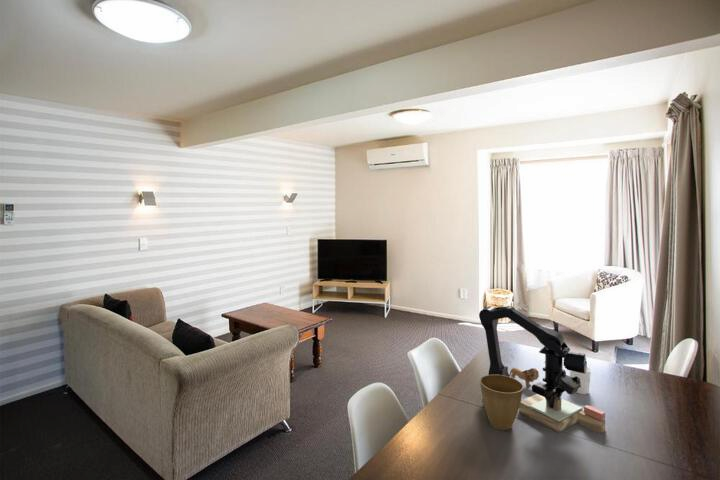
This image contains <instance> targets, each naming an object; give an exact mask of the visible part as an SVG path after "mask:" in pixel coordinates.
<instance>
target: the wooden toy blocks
mask: <svg viewBox="0 0 720 480" xmlns="http://www.w3.org/2000/svg"><path fill="white" fill-rule="evenodd" d="M543 399H545V397H543V396H541V395H539V394H536V393H535V394H533V395H530V396H528V397H526V398H524V399H521V402H520V406H519V410H518V412H519V413H520V414H522V415H524V416H526V417H527V418H529V419H532V420H533V421H535V422H538V423H539V424H541V425H543V426H545V427H547V428H549V429H552V430H554V431H555V432H557V433H561V432H562V431H564V430H566V429H568V428H570V427H572V426H573V425H576V424H581V425H582V426H584V427H587V428H589V429H591V430H593V431H595V432H597V433H600V434H603V433H604V432H605V431H606V418H605V419H604V420H602V421H601V420H599V419H596V418H594V417H592V416H590V415H587V414H585V413H584V409H582V410H580V411H579V412H577V413H575V414H573V415H571V416H569V417H567V418H565V419H563V420H562V421H560V422H559V421H557V420H554V419H552V418H550V417H548V416H546V415H544V414H542V413H540V412H538V411H536V410H534V409H532V408H530V405H532V404H534V403H537V402H539V401H541V400H543Z"/></svg>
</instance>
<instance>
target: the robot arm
mask: <svg viewBox="0 0 720 480" xmlns="http://www.w3.org/2000/svg"><path fill="white" fill-rule="evenodd" d="M478 313H479V314H478V317H479V321H480V324H481V326H482V327H483V329H484V331H485V338H486V344H487V351H488V358H489V369H488V375H504V376H509V374H510V373H509V371H508V370H509V367H508V366H505V365H504V364H503V362H502V355H501V349H500V343H499V342H500V341H499V335H498V334H499V333H498V323H499V320H500V319H504V318H507V319H509V320H511V321H512V322H514V323H515V324H516V325H518V326H519V327H521V328H523V329H524V330H526V331H527V332H529V333H530V334H531V335H533V336H534V337H535V338H537V340H538V342H540V344H541V345H542V346H543V347H542V348H541V349H540V350H539V351H538V352H539V354H542V355H543V354H544V356H545V357H544V358H545V359H544V363H545V364H544V367H542V372H543V371H544V373H545V374H544V377H543V378H542V382H536V383H535V384H532V385H531V392H532V393H535V394H539V395H541V396H543V397H545V399H546V401H547V403H548V405H549V407H550V408H553V406H554V399H555V396H557V397H559V398H561V399H562V395H563V393H566V394H568V395H570V396H571V395H574V394H575V393H576V392H577V390H578V388H580V387H581V385H580V378H579V377H577V376H575V377H571V376H570V375H567V372H566V370H567V371H569V372H570V371H575V372H579V373H584V374H585V373H586V369H587V366H588V361H587V357H586V353H582V352H573V351H571V349H570V347H569V346H568V344H567V343H566V342H565V338H564V336H563V334H561V332H559V331H555V329H552V328H548V327H545V326H543V325H540V324H539V323H538V322H536V321H535V320H533V319H532V318H531V317H528V316H527V315H525V314H523V313H522V312H520V311H519V310H518V309H517V308H515V307H514V306H511V305H508V306H507V305H506V306H497V307H494V306H487V307H486V308H483V309H481V310H480V311H479V312H478ZM563 367H564V368H565V369H566V370H565V369H563ZM543 382H544V383H543ZM576 394H577V393H576ZM482 401H483V398H482Z"/></svg>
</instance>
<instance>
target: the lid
mask: <svg viewBox="0 0 720 480" xmlns="http://www.w3.org/2000/svg"><path fill="white" fill-rule="evenodd" d="M530 408H532V409H534V410H536V411H538V412H540V413H542V414H544V415H546V416H548V417H550V418H552V419H554V420H557V421H559V422H560V421H562V420H563V419H565V418H567V417H569V416H571V415H573V414H575V413H577V412H579V411H580V410H583V407H582V406H580V405H577V404H574V403H572V402H570V401H568V400H565V399H563V398H562V397H561V398H559V397H557V396H555V399H554V406H553V408H550V407H549V405H548V403H547V401H546V399H543V400H541V401H539V402H537V403H534V404H532V405H530Z"/></svg>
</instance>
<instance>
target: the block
mask: <svg viewBox="0 0 720 480" xmlns="http://www.w3.org/2000/svg"><path fill="white" fill-rule="evenodd" d="M583 410H584V413H585V414H587V415H590V416H592V417H594V418H596V419H599V420H601V421H602V420H604V419H605V420H606V412H605V411H603V410H600V409H598V408H596V407H593V406H590V405H588V404H586V405H584V406H583Z"/></svg>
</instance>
